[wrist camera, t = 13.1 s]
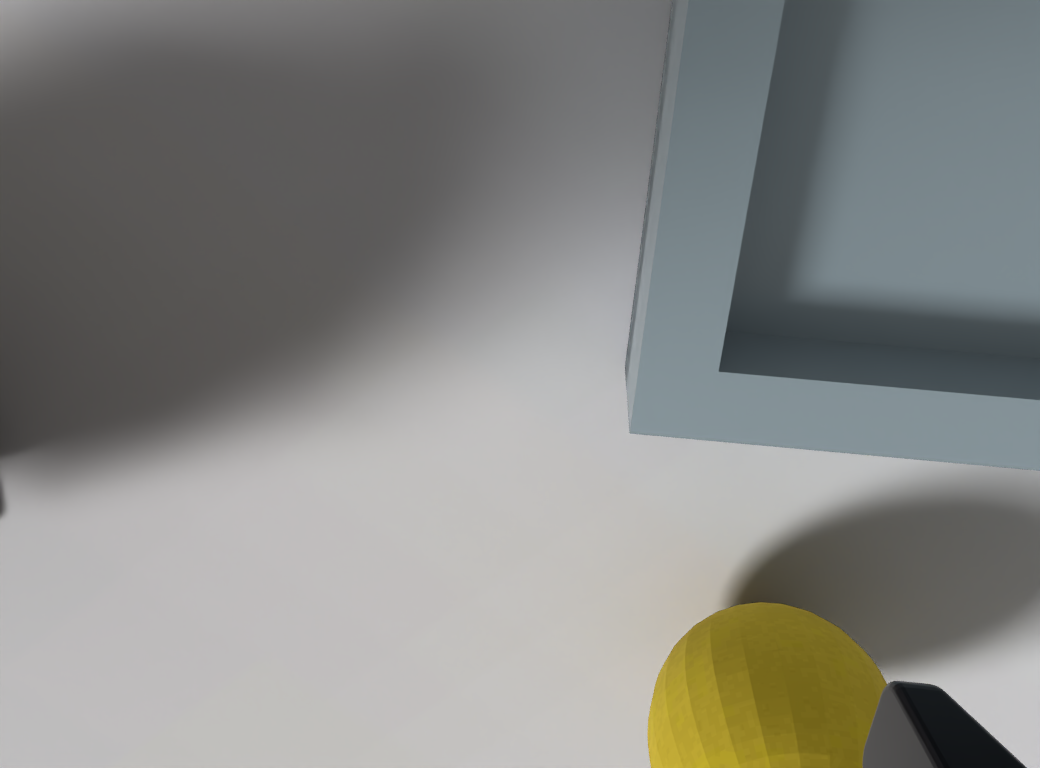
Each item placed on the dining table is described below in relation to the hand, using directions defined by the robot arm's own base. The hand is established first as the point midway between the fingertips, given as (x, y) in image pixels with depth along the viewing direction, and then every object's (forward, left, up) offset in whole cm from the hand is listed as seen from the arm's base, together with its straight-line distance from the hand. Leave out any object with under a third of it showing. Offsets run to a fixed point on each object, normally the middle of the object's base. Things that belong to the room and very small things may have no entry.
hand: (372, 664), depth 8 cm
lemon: (+7, -10, -13) cm, 18 cm away
